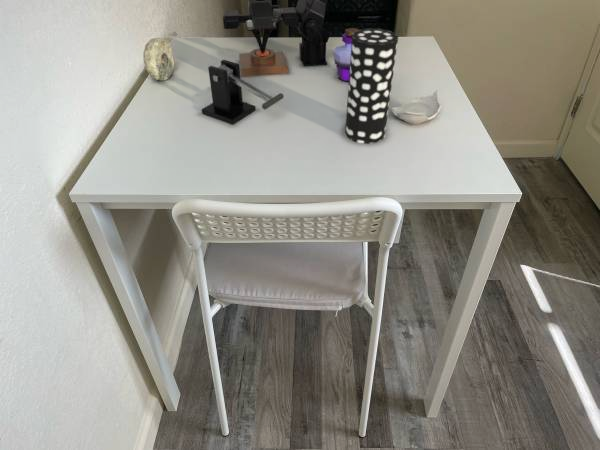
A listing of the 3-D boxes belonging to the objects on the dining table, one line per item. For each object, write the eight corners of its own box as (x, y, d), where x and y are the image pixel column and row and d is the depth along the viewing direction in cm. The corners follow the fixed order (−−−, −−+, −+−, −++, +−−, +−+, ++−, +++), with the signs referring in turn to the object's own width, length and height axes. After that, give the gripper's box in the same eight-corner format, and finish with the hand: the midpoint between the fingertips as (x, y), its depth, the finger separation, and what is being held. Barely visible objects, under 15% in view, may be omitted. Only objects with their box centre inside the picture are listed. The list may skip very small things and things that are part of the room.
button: (269, 55, 122) (268, 49, 121) (270, 61, 120) (270, 54, 119) (255, 56, 122) (255, 50, 121) (256, 61, 119) (256, 55, 118)
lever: (282, 102, 97) (284, 92, 95) (265, 113, 93) (267, 103, 91) (228, 71, 101) (229, 61, 99) (209, 80, 97) (210, 70, 95)
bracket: (255, 110, 104) (252, 63, 97) (232, 124, 99) (227, 77, 92) (225, 100, 108) (220, 55, 101) (202, 114, 103) (194, 67, 96)
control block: (283, 59, 127) (282, 44, 124) (288, 73, 119) (287, 58, 117) (240, 61, 125) (238, 47, 123) (242, 76, 118) (240, 61, 115)
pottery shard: (430, 107, 105) (434, 87, 101) (449, 132, 97) (454, 110, 93) (386, 111, 104) (389, 90, 100) (402, 136, 95) (406, 114, 92)
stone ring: (158, 87, 113) (149, 47, 107) (146, 85, 114) (136, 45, 108) (180, 71, 120) (172, 32, 114) (168, 70, 121) (160, 31, 115)
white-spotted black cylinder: (388, 127, 98) (401, 31, 85) (380, 146, 92) (393, 47, 79) (350, 121, 100) (358, 26, 87) (340, 139, 94) (347, 41, 81)
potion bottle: (352, 88, 113) (356, 38, 105) (324, 78, 117) (326, 30, 109) (371, 76, 118) (376, 28, 110) (344, 68, 122) (347, 21, 114)
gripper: (220, -2, 102) (227, 66, 113) (302, -6, 104) (302, 62, 115) (219, -15, 111) (226, 50, 121) (295, -18, 113) (296, 46, 123)
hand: (262, 52), depth 120 cm, fingers closed, pressing on button
